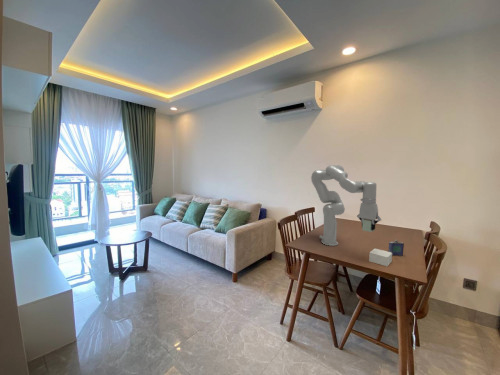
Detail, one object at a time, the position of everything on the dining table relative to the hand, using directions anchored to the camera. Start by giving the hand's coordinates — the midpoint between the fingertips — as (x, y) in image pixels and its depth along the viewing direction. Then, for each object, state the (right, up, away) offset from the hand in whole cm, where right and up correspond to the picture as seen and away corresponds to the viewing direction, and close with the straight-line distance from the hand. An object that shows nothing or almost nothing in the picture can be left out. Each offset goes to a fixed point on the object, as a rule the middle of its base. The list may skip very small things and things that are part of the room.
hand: (368, 228), depth 136 cm
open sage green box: (0, -1, 0) cm, 1 cm away
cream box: (+6, -21, -2) cm, 22 cm away
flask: (+23, -20, +8) cm, 31 cm away
